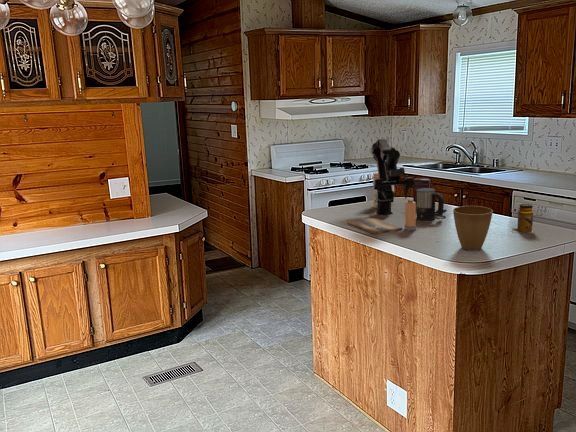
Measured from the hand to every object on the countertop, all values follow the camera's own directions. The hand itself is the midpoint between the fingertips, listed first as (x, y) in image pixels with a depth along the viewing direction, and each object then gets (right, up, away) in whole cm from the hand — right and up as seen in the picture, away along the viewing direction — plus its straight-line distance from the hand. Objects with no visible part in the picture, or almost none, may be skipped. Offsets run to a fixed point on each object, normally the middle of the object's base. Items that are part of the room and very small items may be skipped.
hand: (396, 198), depth 254 cm
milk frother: (+21, -9, +17) cm, 29 cm away
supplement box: (+22, -4, +40) cm, 45 cm away
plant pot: (+23, -21, -38) cm, 49 cm away
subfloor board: (-10, -13, +4) cm, 17 cm away
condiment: (+53, -15, -16) cm, 57 cm away
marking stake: (+6, -14, -4) cm, 16 cm away
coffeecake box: (+3, -2, +50) cm, 50 cm away
